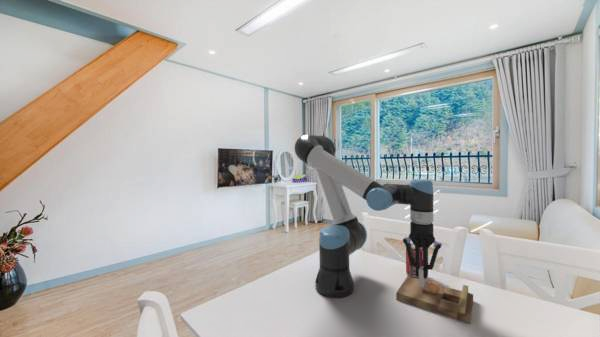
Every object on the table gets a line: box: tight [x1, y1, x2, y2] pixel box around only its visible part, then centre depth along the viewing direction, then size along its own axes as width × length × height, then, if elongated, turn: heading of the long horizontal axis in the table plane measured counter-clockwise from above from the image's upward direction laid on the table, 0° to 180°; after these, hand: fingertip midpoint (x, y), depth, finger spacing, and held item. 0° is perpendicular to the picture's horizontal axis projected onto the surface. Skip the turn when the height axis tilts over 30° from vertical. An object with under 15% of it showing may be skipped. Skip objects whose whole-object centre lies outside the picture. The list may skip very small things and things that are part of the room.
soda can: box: [405, 243, 423, 279], centre depth 106 cm, size 7×7×13 cm
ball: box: [427, 280, 440, 294], centre depth 88 cm, size 4×4×4 cm
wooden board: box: [395, 275, 474, 324], centre depth 88 cm, size 22×15×5 cm
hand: (421, 285), depth 90 cm, fingers closed
